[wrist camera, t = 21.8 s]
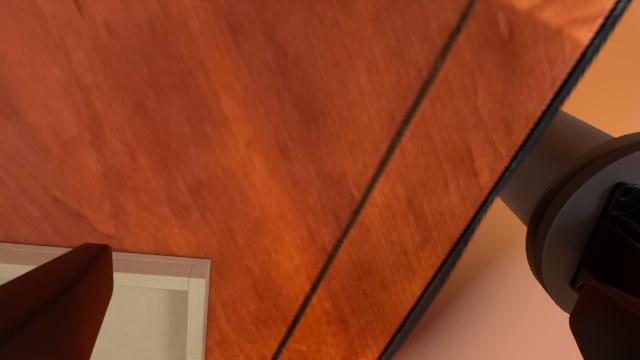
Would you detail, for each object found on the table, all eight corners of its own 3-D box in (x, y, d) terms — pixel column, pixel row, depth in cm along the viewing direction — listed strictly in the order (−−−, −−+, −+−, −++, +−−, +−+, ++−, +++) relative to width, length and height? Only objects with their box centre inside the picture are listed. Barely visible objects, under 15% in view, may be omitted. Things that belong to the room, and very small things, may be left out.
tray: (210, 258, 23) (205, 279, 22) (201, 429, 29) (196, 455, 27) (-129, 231, 22) (-161, 251, 20) (-75, 419, 27) (-97, 446, 25)
